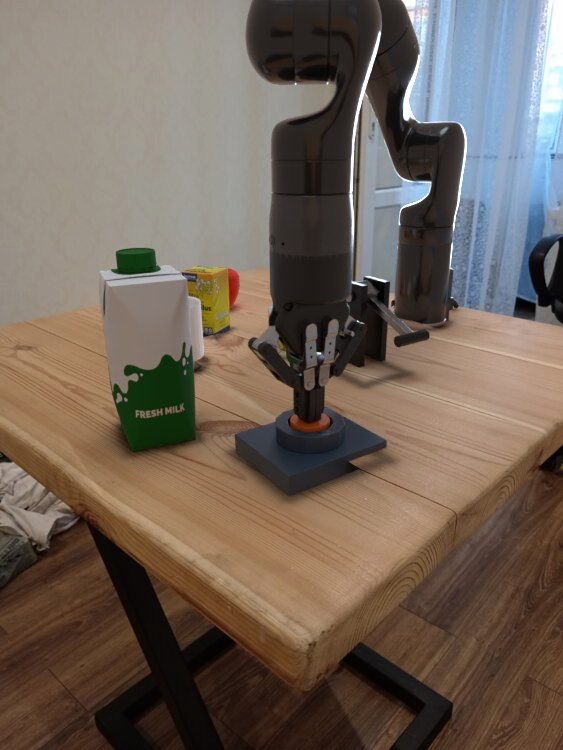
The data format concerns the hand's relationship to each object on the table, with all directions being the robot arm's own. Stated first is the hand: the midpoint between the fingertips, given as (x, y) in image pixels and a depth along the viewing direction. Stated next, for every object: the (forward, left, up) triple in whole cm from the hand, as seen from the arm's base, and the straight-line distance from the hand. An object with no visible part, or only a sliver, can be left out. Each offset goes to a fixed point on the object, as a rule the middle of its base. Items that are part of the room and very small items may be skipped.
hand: (309, 418), depth 58 cm
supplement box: (-11, -45, -4) cm, 47 cm away
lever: (-21, -12, +4) cm, 25 cm away
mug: (+1, -32, -4) cm, 32 cm away
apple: (-20, -58, -4) cm, 62 cm away
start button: (0, 0, -2) cm, 2 cm away
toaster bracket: (-21, -16, -4) cm, 27 cm away
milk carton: (+11, -14, -4) cm, 18 cm away
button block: (0, 0, -4) cm, 4 cm away
